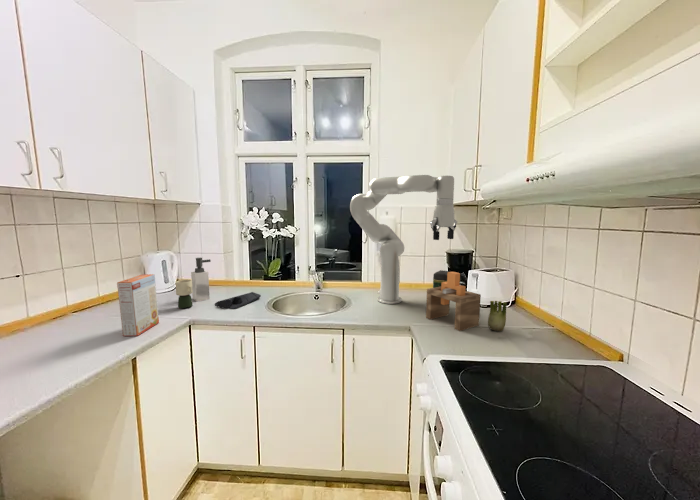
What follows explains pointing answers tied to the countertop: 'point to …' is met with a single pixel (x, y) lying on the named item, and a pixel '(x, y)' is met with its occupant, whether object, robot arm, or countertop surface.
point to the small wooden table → (464, 310)
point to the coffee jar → (439, 278)
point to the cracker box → (138, 304)
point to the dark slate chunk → (238, 301)
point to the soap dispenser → (200, 282)
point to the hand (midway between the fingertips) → (443, 239)
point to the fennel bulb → (497, 316)
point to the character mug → (184, 293)
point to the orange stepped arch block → (452, 285)
